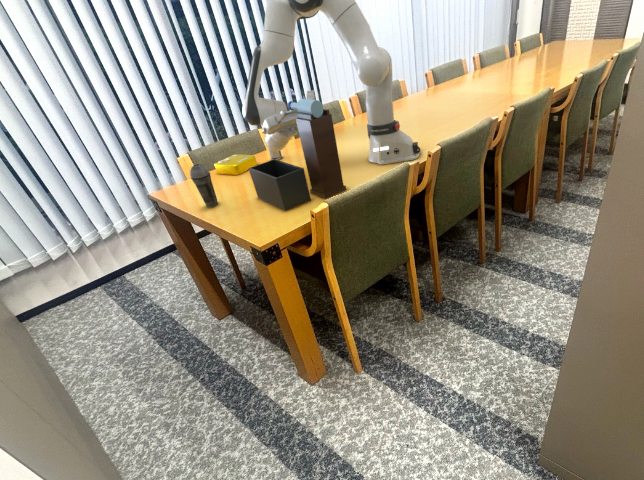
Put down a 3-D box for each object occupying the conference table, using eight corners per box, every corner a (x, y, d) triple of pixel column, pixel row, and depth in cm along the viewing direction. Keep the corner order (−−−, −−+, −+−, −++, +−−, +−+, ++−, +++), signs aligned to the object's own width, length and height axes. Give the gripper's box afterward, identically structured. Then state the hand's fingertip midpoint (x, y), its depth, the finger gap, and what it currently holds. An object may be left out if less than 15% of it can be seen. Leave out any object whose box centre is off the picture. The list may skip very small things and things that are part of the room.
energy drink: (279, 160, 190) (272, 133, 182) (269, 161, 191) (262, 134, 184) (283, 156, 194) (276, 130, 186) (273, 157, 195) (266, 131, 187)
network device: (311, 131, 226) (302, 91, 213) (326, 128, 226) (318, 88, 213) (311, 143, 206) (301, 99, 193) (327, 140, 206) (319, 96, 193)
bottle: (288, 116, 141) (282, 101, 137) (299, 110, 142) (293, 95, 139) (314, 120, 130) (308, 104, 127) (325, 113, 132) (320, 97, 128)
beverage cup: (205, 210, 152) (182, 157, 139) (202, 205, 157) (179, 152, 144) (223, 205, 154) (202, 151, 141) (219, 199, 159) (199, 147, 146)
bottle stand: (310, 193, 152) (292, 113, 134) (331, 184, 156) (316, 106, 138) (325, 198, 145) (308, 116, 127) (346, 189, 149) (332, 108, 131)
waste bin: (258, 198, 155) (248, 168, 147) (282, 188, 160) (274, 158, 152) (285, 211, 141) (276, 178, 134) (311, 200, 146) (303, 168, 138)
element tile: (238, 175, 180) (234, 164, 177) (215, 173, 187) (211, 163, 184) (259, 164, 189) (256, 153, 186) (237, 163, 196) (233, 153, 193)
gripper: (256, 126, 146) (265, 107, 134) (301, 111, 155) (314, 93, 143) (265, 142, 148) (275, 125, 136) (309, 127, 157) (322, 110, 144)
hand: (295, 108), depth 139 cm, fingers open, 8 cm apart
